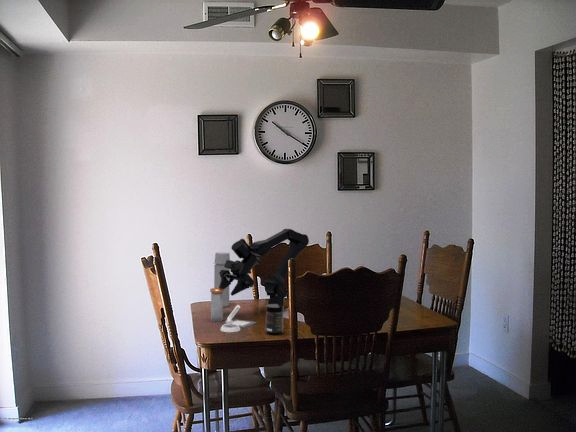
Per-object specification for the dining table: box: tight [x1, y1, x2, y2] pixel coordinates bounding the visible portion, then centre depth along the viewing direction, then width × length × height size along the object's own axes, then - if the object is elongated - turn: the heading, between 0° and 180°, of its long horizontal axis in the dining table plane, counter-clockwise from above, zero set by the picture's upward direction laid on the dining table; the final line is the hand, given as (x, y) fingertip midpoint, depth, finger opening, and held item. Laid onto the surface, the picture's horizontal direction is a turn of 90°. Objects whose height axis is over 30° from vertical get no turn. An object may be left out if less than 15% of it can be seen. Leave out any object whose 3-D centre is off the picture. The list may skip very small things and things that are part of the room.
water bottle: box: [213, 251, 231, 308], centre depth 250 cm, size 9×8×25 cm
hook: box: [220, 304, 241, 333], centre depth 205 cm, size 8×12×7 cm
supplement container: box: [265, 304, 284, 336], centre depth 202 cm, size 7×7×10 cm
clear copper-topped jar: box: [210, 287, 224, 322], centre depth 221 cm, size 6×6×13 cm
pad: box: [222, 318, 258, 329], centre depth 215 cm, size 10×10×1 cm
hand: (224, 293), depth 223 cm, fingers open, 9 cm apart
